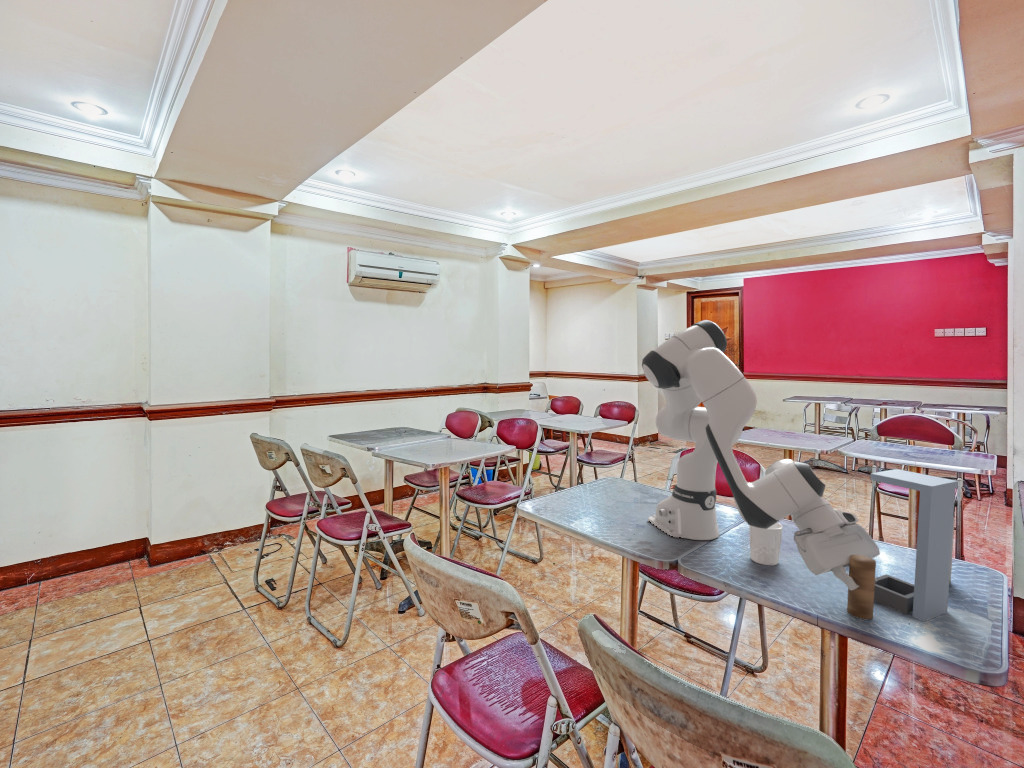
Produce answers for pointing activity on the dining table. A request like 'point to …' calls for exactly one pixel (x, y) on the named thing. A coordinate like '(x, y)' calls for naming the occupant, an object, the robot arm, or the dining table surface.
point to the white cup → (765, 544)
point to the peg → (862, 587)
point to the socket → (894, 593)
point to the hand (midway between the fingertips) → (864, 586)
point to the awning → (929, 538)
